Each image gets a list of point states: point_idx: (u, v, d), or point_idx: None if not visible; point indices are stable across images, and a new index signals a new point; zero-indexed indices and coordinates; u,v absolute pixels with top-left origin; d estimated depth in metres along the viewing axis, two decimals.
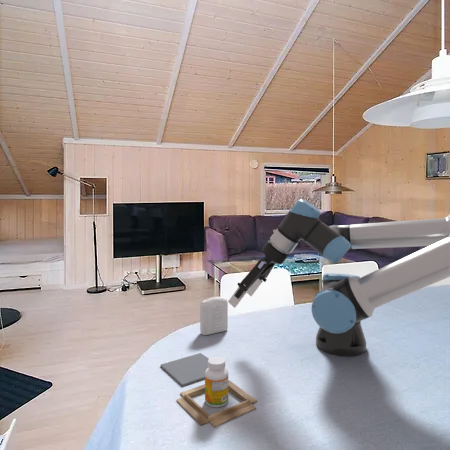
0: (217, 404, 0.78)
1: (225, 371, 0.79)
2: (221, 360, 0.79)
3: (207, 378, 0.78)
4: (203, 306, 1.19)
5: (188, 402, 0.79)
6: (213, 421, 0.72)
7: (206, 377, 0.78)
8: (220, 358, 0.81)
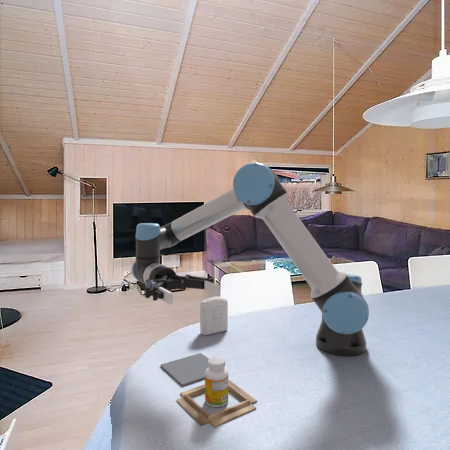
0: (217, 404, 0.78)
1: (225, 371, 0.79)
2: (221, 360, 0.80)
3: (207, 378, 0.78)
4: (203, 306, 1.19)
5: (188, 402, 0.79)
6: (213, 421, 0.72)
7: (206, 377, 0.78)
8: (220, 358, 0.81)
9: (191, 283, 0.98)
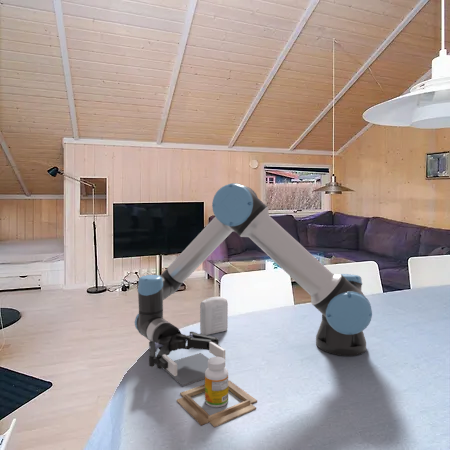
0: (217, 404, 0.78)
1: (225, 371, 0.79)
2: (221, 360, 0.80)
3: (207, 378, 0.78)
4: (203, 306, 1.19)
5: (188, 402, 0.79)
6: (213, 421, 0.72)
7: (206, 377, 0.78)
8: (220, 358, 0.81)
9: (195, 343, 0.95)
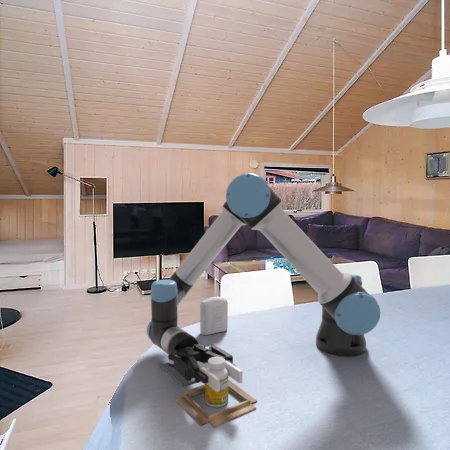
0: (217, 404, 0.78)
1: (225, 370, 0.79)
2: (221, 360, 0.80)
3: None
4: (203, 306, 1.19)
5: (188, 402, 0.79)
6: (213, 421, 0.72)
7: None
8: (220, 358, 0.81)
9: None
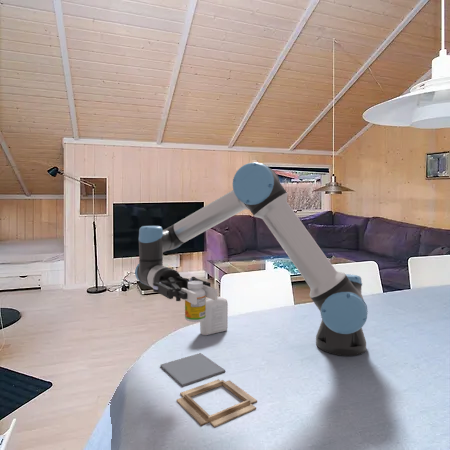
0: (195, 319, 0.89)
1: (203, 291, 0.90)
2: (199, 282, 0.91)
3: None
4: None
5: (188, 402, 0.79)
6: (213, 421, 0.72)
7: None
8: (198, 281, 0.92)
9: None
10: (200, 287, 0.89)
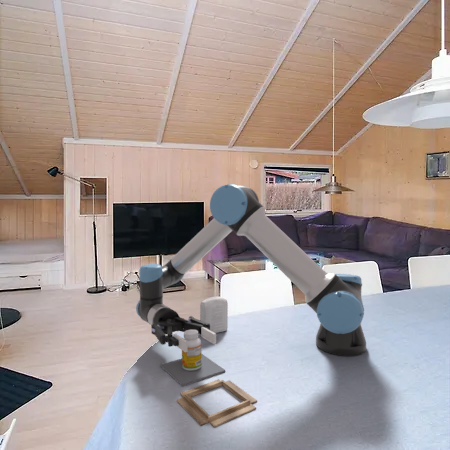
0: (192, 368, 0.93)
1: (198, 340, 0.95)
2: (195, 331, 0.95)
3: None
4: (203, 306, 1.19)
5: (188, 402, 0.79)
6: (213, 421, 0.72)
7: None
8: (194, 330, 0.96)
9: (190, 327, 1.02)
10: (195, 337, 0.94)
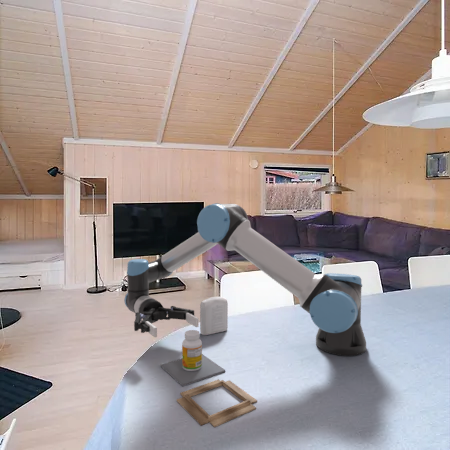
0: (192, 368, 0.93)
1: (199, 341, 0.95)
2: (196, 332, 0.95)
3: (183, 347, 0.94)
4: (203, 306, 1.19)
5: (188, 402, 0.79)
6: (213, 421, 0.72)
7: (183, 346, 0.94)
8: (195, 331, 0.96)
9: (174, 314, 1.13)
10: (196, 338, 0.94)
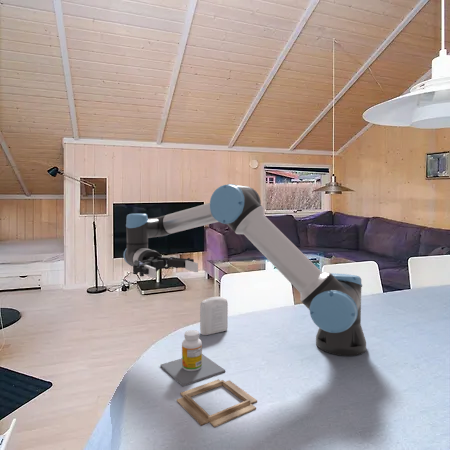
0: (191, 368, 0.93)
1: (199, 341, 0.95)
2: (195, 332, 0.95)
3: (183, 347, 0.94)
4: (203, 306, 1.19)
5: (188, 402, 0.79)
6: (213, 421, 0.72)
7: (183, 346, 0.94)
8: (195, 331, 0.96)
9: (174, 263, 1.12)
10: (196, 338, 0.94)
